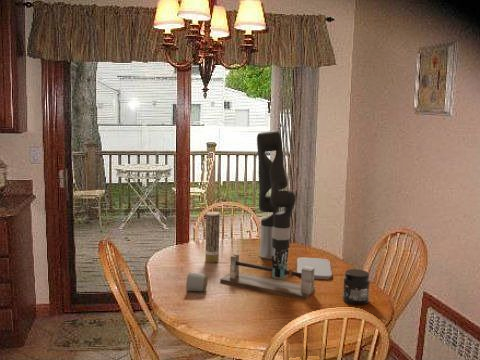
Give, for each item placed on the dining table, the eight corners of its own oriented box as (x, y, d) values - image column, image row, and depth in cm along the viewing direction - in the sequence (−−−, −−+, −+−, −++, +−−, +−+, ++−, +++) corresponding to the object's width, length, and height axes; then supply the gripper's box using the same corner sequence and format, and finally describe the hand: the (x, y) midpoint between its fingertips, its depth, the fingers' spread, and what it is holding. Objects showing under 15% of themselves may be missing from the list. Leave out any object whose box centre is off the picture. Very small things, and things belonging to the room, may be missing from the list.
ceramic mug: (205, 294, 191) (205, 276, 190) (185, 293, 192) (185, 275, 191) (208, 285, 201) (209, 268, 200) (190, 284, 202) (190, 267, 201)
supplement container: (346, 293, 196) (348, 266, 194) (371, 299, 190) (373, 271, 189) (338, 302, 187) (340, 273, 185) (364, 308, 181) (366, 279, 180)
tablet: (328, 263, 237) (329, 258, 237) (332, 281, 211) (332, 276, 211) (297, 261, 239) (297, 256, 239) (296, 278, 213) (296, 273, 213)
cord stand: (232, 274, 216) (233, 250, 214) (315, 290, 198) (317, 265, 196) (220, 282, 205) (220, 257, 203) (306, 300, 187) (308, 273, 186)
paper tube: (202, 261, 233) (203, 213, 229) (209, 258, 239) (210, 211, 235) (214, 263, 230) (215, 215, 226) (221, 260, 236) (222, 212, 232)
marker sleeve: (276, 274, 201) (276, 262, 201) (286, 276, 199) (287, 264, 198) (272, 277, 197) (272, 265, 197) (283, 279, 195) (283, 267, 194)
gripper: (279, 231, 204) (277, 268, 206) (266, 239, 191) (265, 278, 193) (295, 234, 200) (293, 271, 203) (283, 242, 188) (281, 281, 190)
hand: (279, 274), depth 198 cm, fingers closed on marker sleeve, 4 cm apart
